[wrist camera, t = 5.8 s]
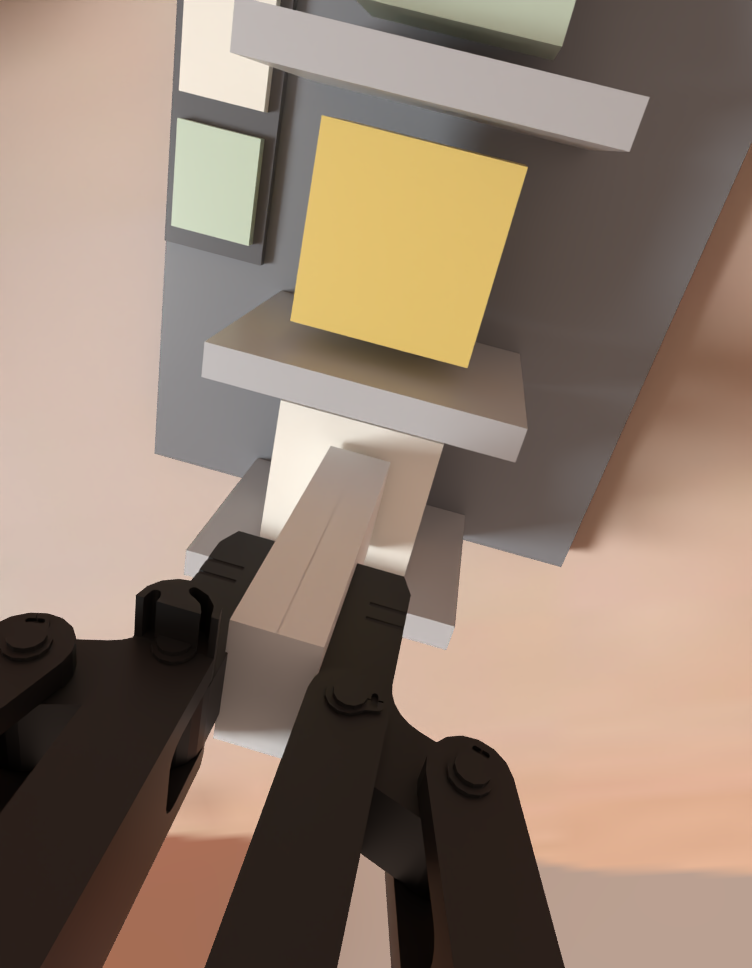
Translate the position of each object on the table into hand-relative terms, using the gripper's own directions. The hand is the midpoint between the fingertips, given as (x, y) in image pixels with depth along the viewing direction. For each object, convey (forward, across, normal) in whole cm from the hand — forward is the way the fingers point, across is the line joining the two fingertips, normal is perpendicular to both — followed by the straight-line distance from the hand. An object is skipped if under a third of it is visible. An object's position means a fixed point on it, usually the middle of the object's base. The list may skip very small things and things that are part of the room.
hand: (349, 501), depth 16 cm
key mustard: (+2, 0, +6) cm, 6 cm away
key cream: (+3, 0, 0) cm, 3 cm away
